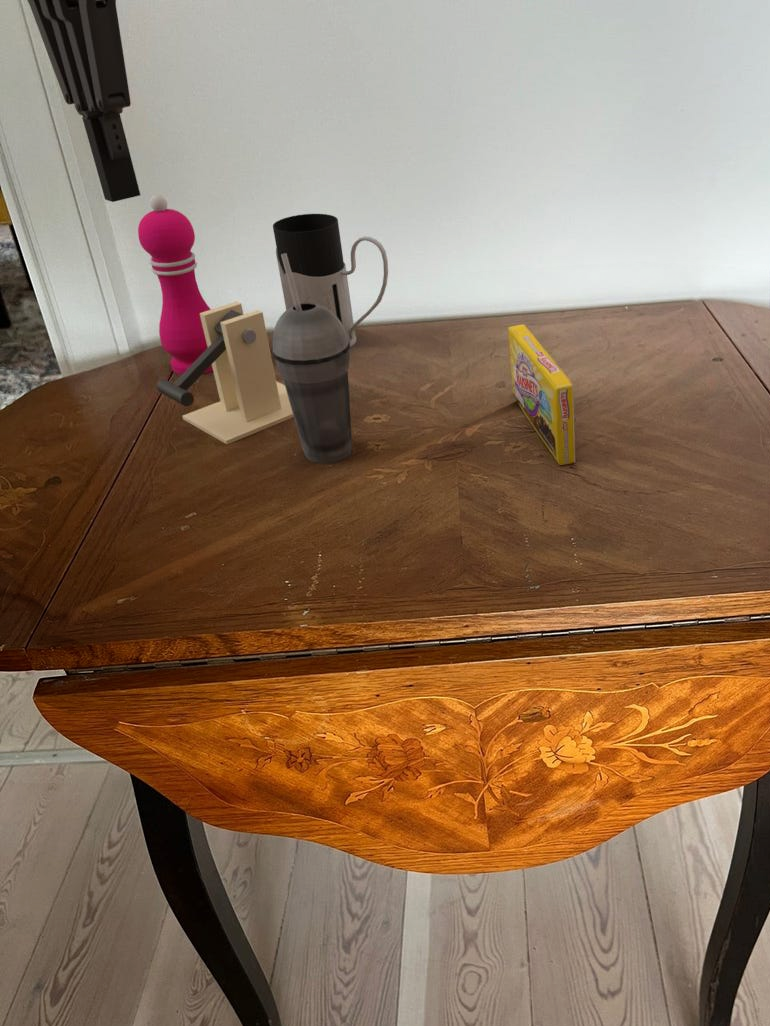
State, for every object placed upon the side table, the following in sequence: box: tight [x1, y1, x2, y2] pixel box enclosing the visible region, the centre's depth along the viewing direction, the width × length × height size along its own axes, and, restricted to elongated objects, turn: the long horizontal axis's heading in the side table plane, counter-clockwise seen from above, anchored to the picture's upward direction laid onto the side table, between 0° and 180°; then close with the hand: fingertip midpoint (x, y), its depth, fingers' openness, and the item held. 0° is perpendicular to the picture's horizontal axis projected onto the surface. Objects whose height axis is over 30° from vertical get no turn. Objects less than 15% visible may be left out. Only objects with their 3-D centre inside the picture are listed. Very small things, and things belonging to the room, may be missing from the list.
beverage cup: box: [271, 253, 353, 464], centre depth 89 cm, size 7×7×20 cm
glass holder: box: [272, 213, 389, 348], centre depth 113 cm, size 9×14×15 cm, turn 70°
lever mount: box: [181, 301, 294, 445], centre depth 100 cm, size 12×9×12 cm
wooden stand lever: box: [156, 310, 244, 407], centre depth 97 cm, size 11×5×2 cm, turn 133°
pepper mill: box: [137, 194, 213, 376], centre depth 109 cm, size 7×7×20 cm
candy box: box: [508, 324, 576, 466], centre depth 96 cm, size 16×2×8 cm, turn 14°
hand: (122, 197), depth 85 cm, fingers closed
